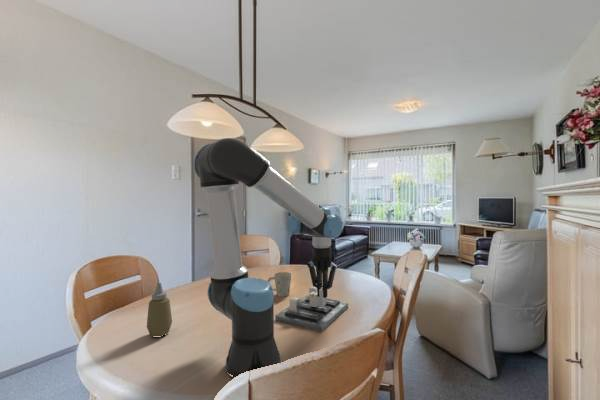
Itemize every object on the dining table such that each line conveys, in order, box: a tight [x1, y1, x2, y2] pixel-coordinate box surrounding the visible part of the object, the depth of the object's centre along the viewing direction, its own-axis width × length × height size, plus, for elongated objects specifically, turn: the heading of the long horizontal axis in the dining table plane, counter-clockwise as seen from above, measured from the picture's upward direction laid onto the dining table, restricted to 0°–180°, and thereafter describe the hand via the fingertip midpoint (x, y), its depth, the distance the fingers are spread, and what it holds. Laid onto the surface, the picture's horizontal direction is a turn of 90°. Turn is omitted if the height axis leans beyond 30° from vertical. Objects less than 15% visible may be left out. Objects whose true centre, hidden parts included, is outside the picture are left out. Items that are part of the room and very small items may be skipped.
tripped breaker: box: [310, 292, 319, 307], centre depth 119 cm, size 3×3×5 cm
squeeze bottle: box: [146, 282, 173, 337], centre depth 102 cm, size 8×8×18 cm
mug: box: [266, 271, 292, 297], centre depth 143 cm, size 8×13×10 cm, turn 78°
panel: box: [274, 285, 349, 332], centre depth 119 cm, size 26×20×8 cm
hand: (322, 305), depth 117 cm, fingers closed
